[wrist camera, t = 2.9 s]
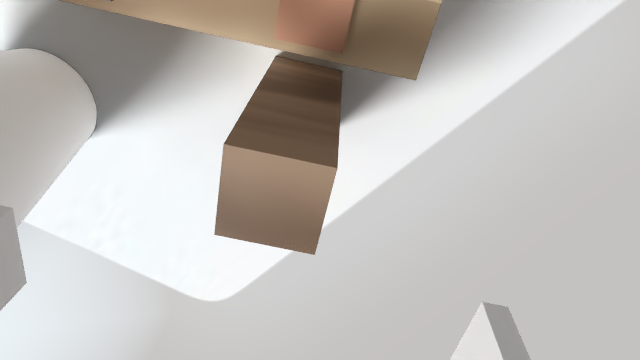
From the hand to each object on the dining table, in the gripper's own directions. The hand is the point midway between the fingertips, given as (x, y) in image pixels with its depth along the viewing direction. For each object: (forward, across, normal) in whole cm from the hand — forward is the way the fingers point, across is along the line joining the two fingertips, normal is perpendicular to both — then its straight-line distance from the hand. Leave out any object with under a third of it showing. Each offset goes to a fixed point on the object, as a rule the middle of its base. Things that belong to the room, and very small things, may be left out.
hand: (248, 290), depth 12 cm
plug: (+16, 0, 0) cm, 16 cm away
